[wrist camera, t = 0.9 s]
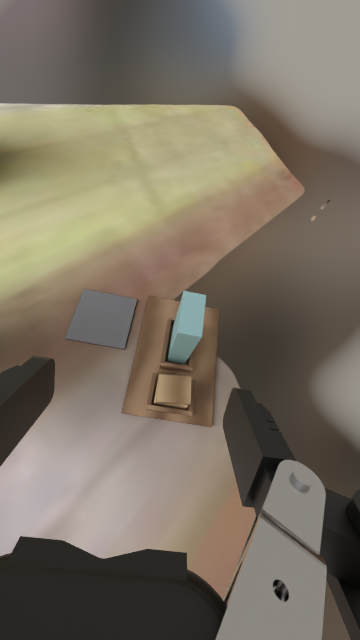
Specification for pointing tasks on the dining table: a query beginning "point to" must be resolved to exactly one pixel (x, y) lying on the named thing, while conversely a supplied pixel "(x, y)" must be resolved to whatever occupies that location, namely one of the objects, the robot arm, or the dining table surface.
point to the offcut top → (173, 389)
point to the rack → (172, 366)
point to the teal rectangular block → (187, 327)
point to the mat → (102, 319)
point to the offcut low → (168, 404)
